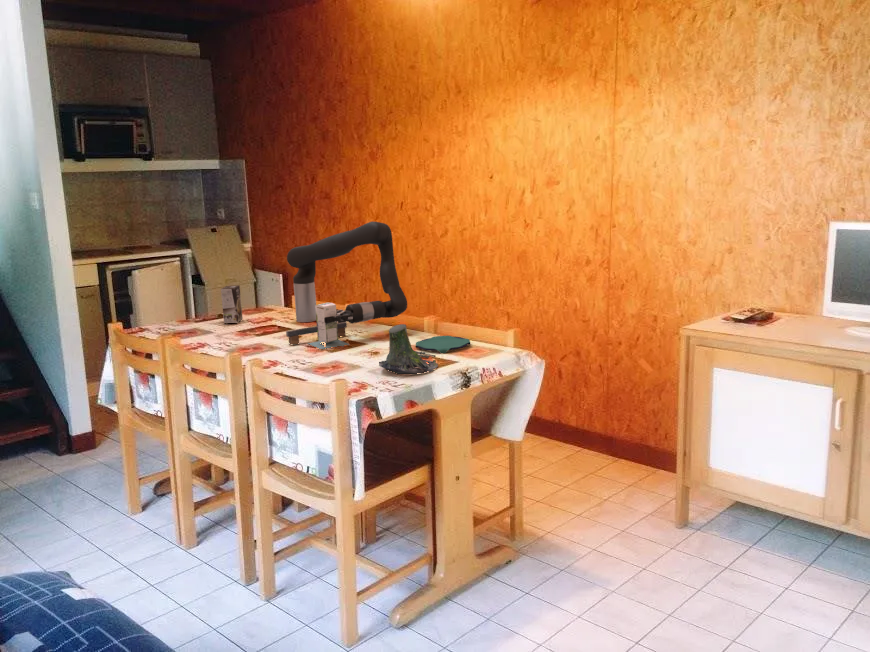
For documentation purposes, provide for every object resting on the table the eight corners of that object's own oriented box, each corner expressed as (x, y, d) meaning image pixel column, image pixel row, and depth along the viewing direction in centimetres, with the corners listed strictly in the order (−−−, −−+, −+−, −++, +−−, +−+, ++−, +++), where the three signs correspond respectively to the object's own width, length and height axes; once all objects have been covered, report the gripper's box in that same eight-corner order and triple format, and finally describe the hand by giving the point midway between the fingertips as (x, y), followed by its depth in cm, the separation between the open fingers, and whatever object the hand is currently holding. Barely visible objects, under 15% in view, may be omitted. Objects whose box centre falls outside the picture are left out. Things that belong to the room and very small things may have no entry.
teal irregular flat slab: (480, 345, 282) (480, 339, 281) (423, 364, 261) (423, 357, 261) (442, 338, 296) (441, 333, 295) (385, 356, 275) (384, 349, 275)
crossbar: (286, 336, 293) (286, 331, 293) (344, 326, 306) (344, 321, 306) (288, 337, 292) (288, 331, 291) (346, 327, 304) (346, 322, 304)
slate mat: (307, 344, 293) (307, 343, 293) (335, 339, 299) (335, 338, 299) (320, 350, 283) (320, 349, 283) (349, 345, 289) (349, 343, 289)
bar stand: (289, 344, 295) (288, 335, 294) (342, 335, 307) (341, 326, 306) (292, 345, 292) (291, 336, 292) (345, 336, 304) (345, 327, 304)
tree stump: (450, 370, 252) (439, 321, 245) (400, 395, 243) (387, 345, 236) (422, 356, 267) (410, 310, 260) (374, 379, 258) (361, 332, 251)
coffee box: (238, 324, 336) (234, 288, 333) (223, 324, 336) (220, 288, 333) (243, 319, 345) (240, 284, 341) (229, 320, 345) (225, 285, 342)
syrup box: (329, 338, 295) (326, 301, 292) (338, 340, 291) (335, 303, 288) (317, 341, 291) (314, 304, 288) (326, 343, 287) (323, 306, 284)
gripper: (351, 300, 302) (312, 306, 293) (367, 305, 290) (328, 312, 281) (352, 318, 303) (313, 325, 295) (369, 324, 291) (329, 331, 283)
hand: (321, 318), depth 288 cm, fingers closed on syrup box, 6 cm apart
